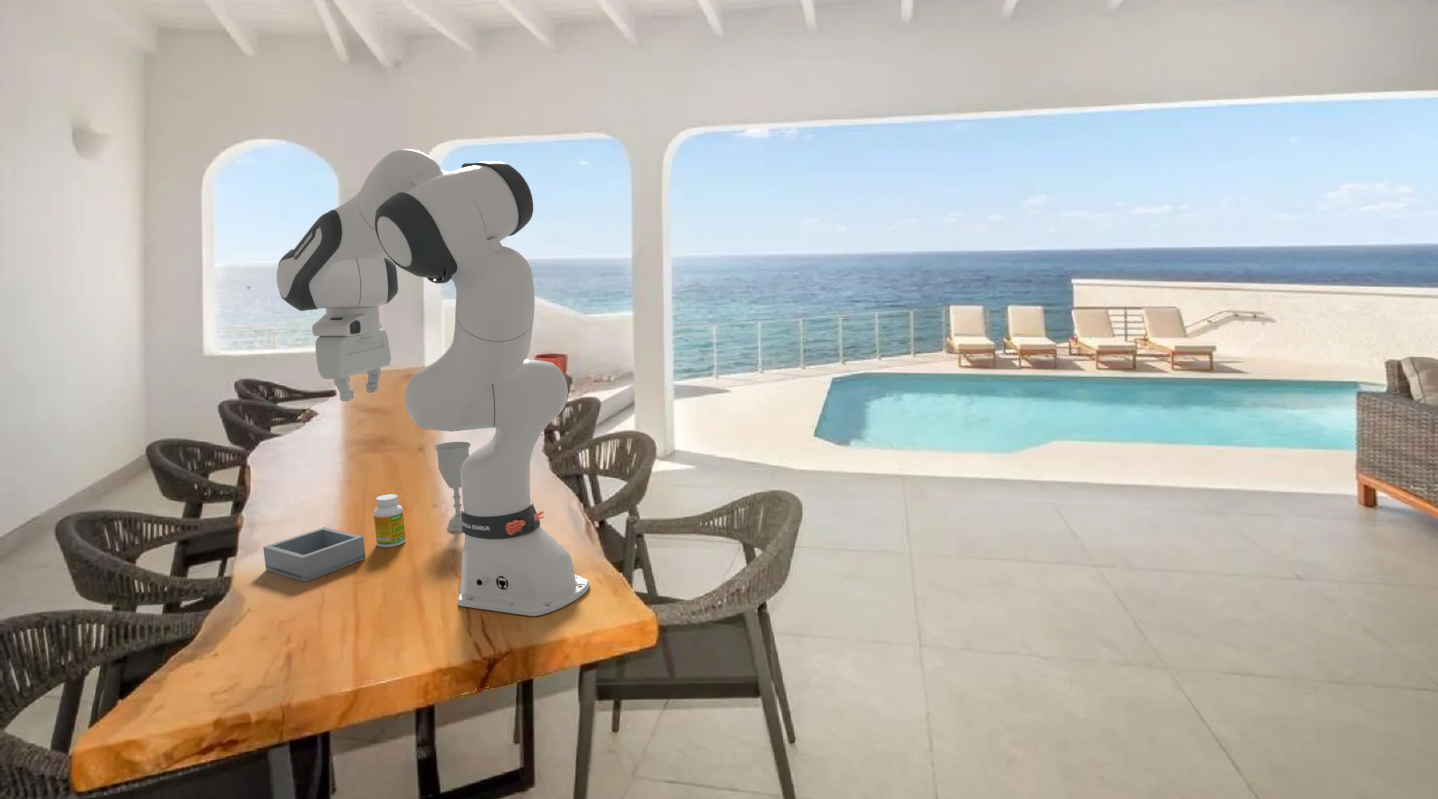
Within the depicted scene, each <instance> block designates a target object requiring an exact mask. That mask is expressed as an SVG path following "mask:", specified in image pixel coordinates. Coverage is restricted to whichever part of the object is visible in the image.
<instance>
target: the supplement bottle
mask: <svg viewBox="0 0 1438 799" xmlns="http://www.w3.org/2000/svg"><path fill="white" fill-rule="evenodd" d="M375 502H376V506H378V507H376V508H375V509H373V510H374V511H373V519H374V529H375V540H376V545H377V546H378V547H380V548H393V547H398V546H400V545H401V546H402V544H405V542H406V529H405V518H404V510H403V507H402V506H401V505H400V504H399V496H398V495H397V494H393V493H391V494H389V493H388V494H383V495H379V496H377V497H376V498H375Z"/></svg>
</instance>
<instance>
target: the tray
mask: <svg viewBox="0 0 1438 799" xmlns="http://www.w3.org/2000/svg"><path fill="white" fill-rule="evenodd" d="M262 550H263V557H264V563H265V570H266V571H268V572H272V573H275V574H277V575H281V576H284V577H288V578H292V579H295V580H298V581H300V582H304V583H306V582H309V581H311V580H314V579H316V578H320V577H322V576H325V575H327V574H330V573H332V572H335V571H338V570H340V569H343V568H345V567H348V565H349V566H351V565H354V564H357V563H358V561H359V562H362V561H364V560H366V551H365V550H366V548H365V542H364V536H362V535H358V534H354V533H349V532H345V531H342V530H338V529H334V528H333V529H332V528H330V527H320V528H318V529H314V530H312V531H308V532H306V533H302V534H299V535H295V536H293V537H289V538H287V539H284V540H281V541H278V542H274V543H271V544H268V545H265V546H263V547H262ZM356 562H357V563H356Z"/></svg>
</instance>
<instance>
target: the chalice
mask: <svg viewBox="0 0 1438 799" xmlns="http://www.w3.org/2000/svg"><path fill="white" fill-rule="evenodd" d="M470 447H471V443H470V442H468V441H450V442H443V443H439V444H436V445H435V446H434V449H435V450H436V452H437V461H438V470H439V472H440V474H441V477H442V479H443V480H444V481H445V483H446V485H447V486H448V487H449V488H450V489H452V490H453V497H452V498H453V500H454V503H453V508H454V509H455V510H454V511H455V513H454V515H453V516H451V518H450V519H449V522H448V523H447V525H448V526H447V528H446V530H447V531H449V532H463V531H462V524H461V507H463V504H462V503H461V502H460V499H461V497H462V495H460V492H459V490H460V488H462V486H461V473H460V472H461V467H462V465H463V463H464V461H465V460H466V459H467V458H468V457H469V456H470V453H469V452H470V450H469V448H470Z"/></svg>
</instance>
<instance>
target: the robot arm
mask: <svg viewBox="0 0 1438 799" xmlns="http://www.w3.org/2000/svg"><path fill="white" fill-rule="evenodd" d="M533 214H534V201H533V196H532V191H531V188H530V186H529V184H528V181H526V178H524V177H523V175H522V174H521V173H520V172H519V171H518V170H516V168H515V167H513V166H511V165H510V164H509V163H507V162H503V161H480V162H469V163H468V162H467V163H466V162H465V163H463V164H462V165H461V168H458V169H456V170H452V171H445V170H443V169H442V168H441V166H440V165H439V164H438V162H436V160H434V159H433V158H432V157H430V155H427V154H425V153H424V152H421V151H420V150H416V149H415V150H414V149H411V148H410V149H409V148H402V149H401V148H400V149H397V150H393V151H390V152H389V153H388V154H386V155H385V156H384V157H383V158H381V160H380V161H379V162H378V163H376V165H375V166H374V168H372V170H371V171H370V173H369V174H368V175H367V177H366V178H365V181H364V183H363V184H362V186H361V189H360V190H359V191H358V193H357V194H355V195H354V196H353V197H352V198H351V199H349V200H348V201H346V202H345V203H343V204H341V205H339V206H338V207H336V208H334V209H331V210H329V211H327V212H324V213H323V214H322V215H321V216H320V217H318V219H317V220H316V221H315V222H314V224H312V226H311V227H310V228H309V229H308V230H307V232H306V233H305V235H303V237H302V238H301V240H300V241H299V242H298V244H297V245H296V246H295V247H294V248H293V249H291V250H289V251H288V252H287V253H285V254H284V255H283V256H282V257H281V258H280V260H279V261H278V265H277V269H276V285H277V289H278V292H279V296H280V298H281V299H282V300H284V301H285V302H286V304H288V305H290V306H292V307H293V308H294V309H296V310H298V311H299V312H302V311H303V312H304V311H313V310H319V309H325V312H326V313H325V314H323V315H322V317H321V318H320V319H318V320H317V321H315V322H314V323H313V324H312V327H311V328H312V329H311V331H312V334H313V335H312V336H314V337H317V338H316V340H315V356H316V364H317V370H318V374H320V377H321V378H322V379H324V380H334V384H335V387H336V389H337V390H338V392H339V398H340V401H341V402H350V401H352V400H354V399H355V396H354V394H355V393H354V390H353V389H352V390H351V386H350V384H349V383H350V382H351V381H350V380H351V379H350V377H352V376H355V375H358V374H363V373H366V374H367V376H368V377H367V383H365V388H366V389H365V391H366V392H367V393H373V394H374V393H377V392H378V391H379V389H380V388H379V387H380V386H379V382H380V377H381V375H382V374H381V373H382V372H381V371H382V370H381V369H382V368H385V367H387V366H390V364H391V361H392V356H391V349H390V342H389V338H388V337H389V336H388V334H387V333H388V332H386V330H385V329H384V327H383V325H382V324H381V319H380V309H379V306H382V305H383V306H384V305H387V304H389V303H390V302H391V301H392V300H393V299H394V298H395V296H396V295H397V294H398V292H399V286H398V283H399V282H398V272H397V267H399V268H400V269H402V270H404V271H406V272H408V273H410V274H412V275H414V276H416V277H418V278H419V277H420V278H426V279H427V280H428V281H430V282H431V283H434V284H438V285H439V284H446V283H448V282H450V280H452V282H453V284H454V288H455V292H456V293H455V294H456V296H455V313H454V314H455V315H454V316H455V317H454V331H453V339H452V343H451V345H450V346H449V347H448V349H447V350H446V352H444V354H442V355H441V356H440V357H439V358H437V359H436V361H434V362H432V363H430V364H429V365H427V366H426V367H424V368H422V369H420V370H417V371H416V372H415V373H414V374H413V375H412V377H410V379H409V381H408V384H407V386H406V388H405V393H404V402H405V407H406V408H405V409H406V411H407V414H408V415H409V417H410V418H411V420H412V422H414V423H415V424H416V426H418V427H419V428H420V429H421V430H429V431H436V432H437V431H439V432H450V433H451V432H461V431H470V430H471V431H472V430H481V429H482V430H483V429H491V428H493V429H495V433H494V435H493V437H492V438H491V440H490V441H489V442H488V443H486V444H484V445H483V446H482V447H480V448H478V449H476V450H475V451H474V452H472V453H470V454H469V457H468V458H467V459H466V460H465V461H464V463H463V465H462V467H461V472H460V473H461V486H462V487H461V493H462V494H461V497H462V509H461V510H460V512H461V524H462V531H461V532H462V533H463V534H464V541H463V542H464V544H463V549H462V556H461V579H460V580H461V581H460V582H461V583H460V586H459V596H458V598H457V605H458V606H460V607H466V608H470V609H471V608H472V609H479V610H486V611H492V612H501V613H506V614H507V613H508V614H513V615H522V616H526V617H527V616H529V617H536V616H537V617H538V616H542V615H545V614H549V613H553V612H555V611H557V610H559V609H562V608H564V607H566V606H567V605H569V604H571V603H573V602H575V601H576V600H578V599H579V598H581V597H582V596H584V594H585V593H587V591H588V590H589V588H590V582H589V579H587V578H585V577H582V576H580V575H578V574H575V568H574V562H573V559H572V556H571V554H570V552H568V551H567V550H566V549H565V548H564V546H563V545H562V544H561V543H559V542H558V541H556V540H555V539H554V538H553V537H552V536H551V535H550V534H549V533H548V532H547V531H546V530H545V529H544V528H543V527H542V526H541V519H543V518H545V516H544V515H543V514H544V512H545V511H544V510H542V511H539V512H537V510H536V508H535V506H534V503H533V502H532V501H531V483H530V482H531V462H532V461H531V460H532V455H533V452H534V448H535V445H536V444H537V442H538V439H539V438H540V436H541V434H542V433H543V432H544V430H545V429H546V428H547V426H548V425H550V423H551V422H552V421H553V420H554V419H556V418H557V417H558V416H559V415H560V414H561V412H562V411H563V410H564V408H565V407H566V405H567V401H568V400H567V399H568V394H569V389H568V388H569V387H568V382H567V379H566V377H565V375H564V373H563V372H562V370H561V369H560V368H559V367H558V366H557V365H556V364H555V363H553V362H552V361H551V362H550V361H545V360H538V359H537V360H535V359H529V358H528V359H527V357H528V355H529V353H530V350H531V341H532V335H533V326H534V320H535V319H534V318H535V317H534V316H535V307H536V306H535V300H536V298H535V284H534V277H533V272H532V269H531V268H532V267H531V266H530V264H529V262H528V260H527V259H526V258H525V257H524V256H523V255H522V254H521V253H520V252H518V251H517V250H515V249H513V248H512V247H511V248H510V247H509V246H504V245H502V243H501V241H503V240H505V239H506V238H507V237H511V236H514V235H515V234H517V233H518V232H520V231H521V230H522V229H523V228H525V227H526V226H527V224H529V222H530V221H531V219H532V217H533ZM542 515H543V516H542Z"/></svg>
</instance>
